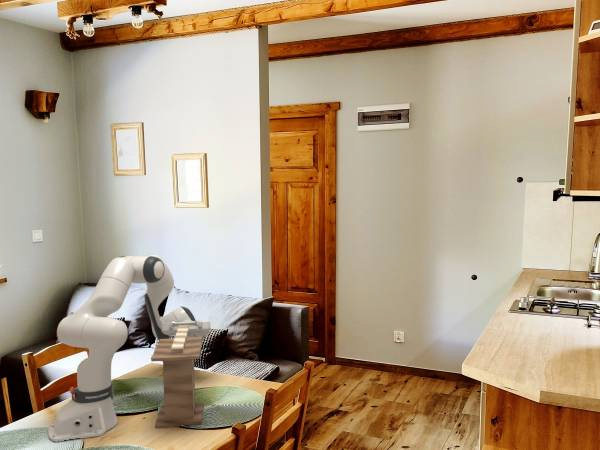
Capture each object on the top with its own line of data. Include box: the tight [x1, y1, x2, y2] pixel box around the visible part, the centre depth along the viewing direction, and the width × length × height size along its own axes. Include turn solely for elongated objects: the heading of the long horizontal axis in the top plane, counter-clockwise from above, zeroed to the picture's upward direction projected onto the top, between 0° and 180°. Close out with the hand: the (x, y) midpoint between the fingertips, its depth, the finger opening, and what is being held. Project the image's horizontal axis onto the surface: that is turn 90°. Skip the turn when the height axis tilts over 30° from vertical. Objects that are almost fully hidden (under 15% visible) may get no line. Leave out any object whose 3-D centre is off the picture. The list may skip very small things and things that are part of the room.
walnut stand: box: [150, 337, 205, 429], centre depth 187 cm, size 22×16×26 cm
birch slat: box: [171, 325, 189, 354], centre depth 194 cm, size 30×4×2 cm, turn 8°
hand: (184, 323), depth 210 cm, fingers open, 8 cm apart
